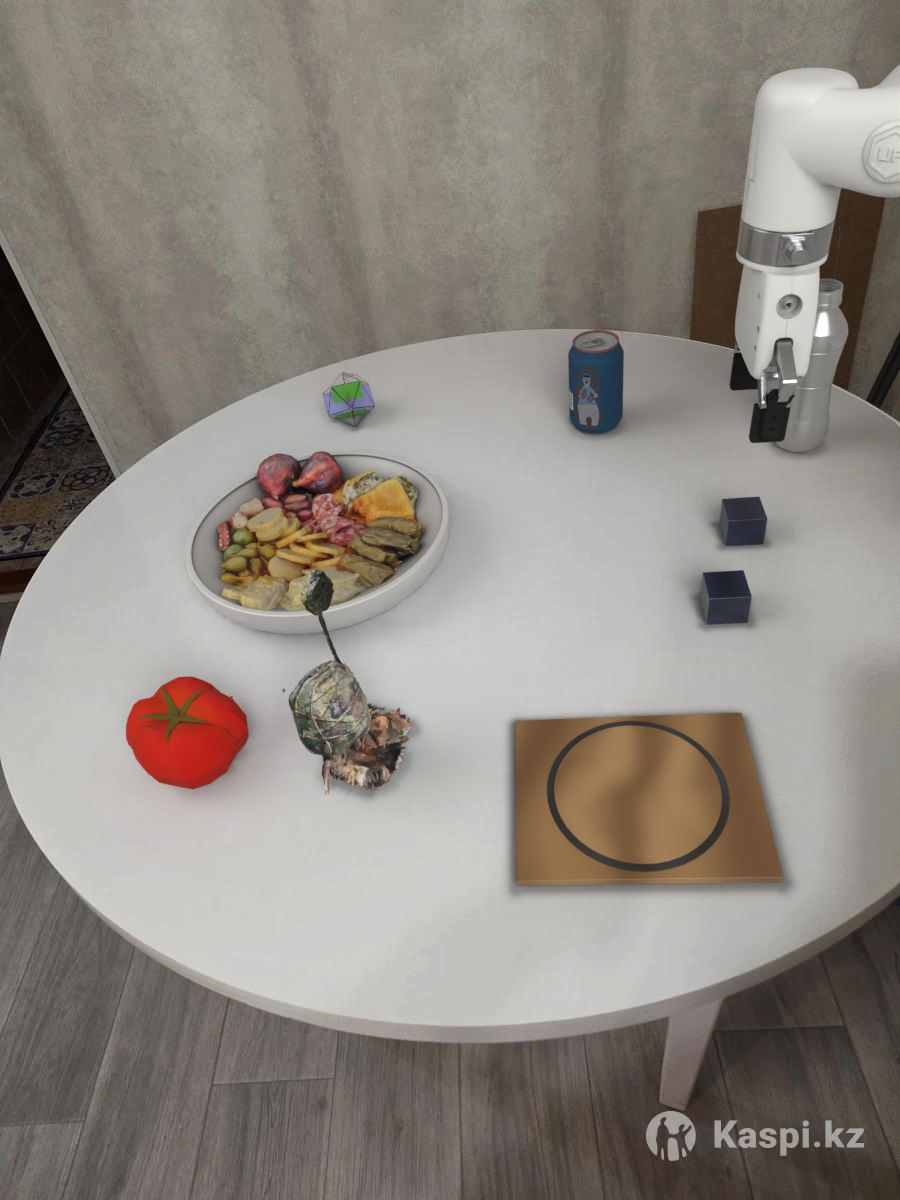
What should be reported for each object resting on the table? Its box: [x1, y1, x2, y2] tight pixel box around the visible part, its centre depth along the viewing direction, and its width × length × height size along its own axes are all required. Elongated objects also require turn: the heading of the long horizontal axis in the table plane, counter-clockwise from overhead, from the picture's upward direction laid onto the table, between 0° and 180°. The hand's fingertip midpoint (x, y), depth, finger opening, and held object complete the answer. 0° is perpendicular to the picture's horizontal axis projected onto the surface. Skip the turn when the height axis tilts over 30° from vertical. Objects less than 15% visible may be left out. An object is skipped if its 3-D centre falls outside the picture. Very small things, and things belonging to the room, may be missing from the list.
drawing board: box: [515, 712, 784, 887], centre depth 72 cm, size 20×16×1 cm
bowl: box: [184, 450, 451, 635], centre depth 98 cm, size 30×30×8 cm
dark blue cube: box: [718, 496, 768, 547], centre depth 94 cm, size 4×4×4 cm
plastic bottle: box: [775, 278, 849, 453], centre depth 100 cm, size 6×7×20 cm
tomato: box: [125, 676, 250, 790], centre depth 79 cm, size 10×11×6 cm
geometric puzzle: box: [321, 371, 376, 429], centre depth 122 cm, size 7×7×8 cm
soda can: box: [567, 329, 625, 436], centre depth 112 cm, size 7×7×12 cm
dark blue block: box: [699, 569, 753, 625], centre depth 86 cm, size 4×4×4 cm
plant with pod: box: [281, 569, 414, 796], centre depth 72 cm, size 8×11×20 cm
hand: (755, 413), depth 86 cm, fingers open, 9 cm apart
